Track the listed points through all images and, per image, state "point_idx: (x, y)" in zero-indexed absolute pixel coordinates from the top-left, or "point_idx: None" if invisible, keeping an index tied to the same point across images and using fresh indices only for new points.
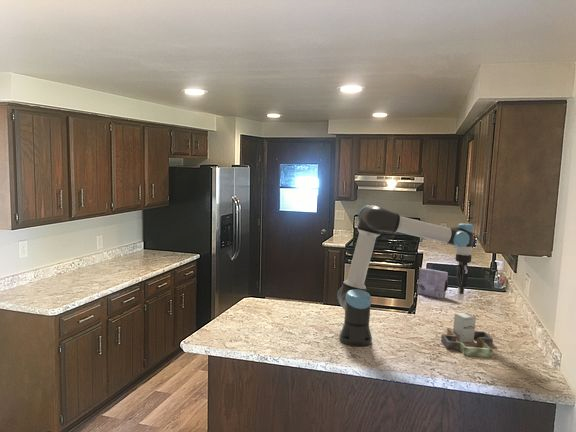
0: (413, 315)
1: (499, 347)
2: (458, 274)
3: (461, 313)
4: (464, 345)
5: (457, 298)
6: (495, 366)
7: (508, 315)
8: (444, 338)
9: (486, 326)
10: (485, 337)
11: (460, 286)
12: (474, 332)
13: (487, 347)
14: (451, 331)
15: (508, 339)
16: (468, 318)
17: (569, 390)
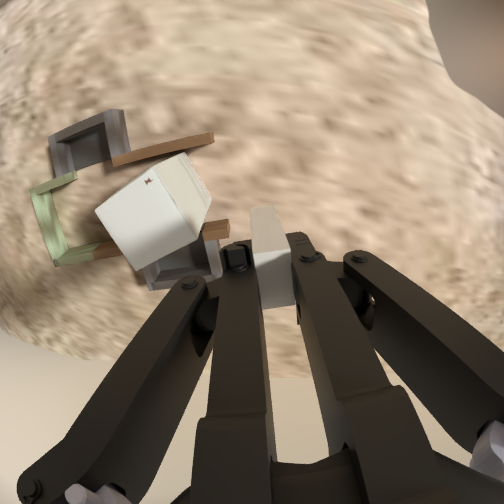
0: (425, 55)
1: (153, 294)
2: (427, 347)
3: (165, 205)
4: (43, 190)
5: (264, 207)
6: (23, 253)
7: None
8: (77, 123)
9: None
10: (192, 271)
11: (223, 275)
12: (205, 241)
13: (64, 257)
14: (166, 147)
15: None
16: (110, 232)
17: (18, 339)
